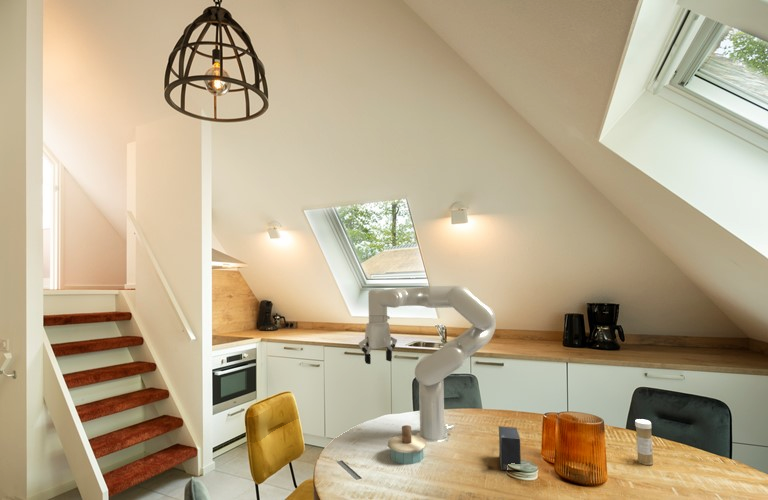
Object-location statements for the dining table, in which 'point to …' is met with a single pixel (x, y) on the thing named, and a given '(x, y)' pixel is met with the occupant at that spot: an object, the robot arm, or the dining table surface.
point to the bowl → (406, 457)
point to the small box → (509, 446)
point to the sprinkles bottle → (644, 441)
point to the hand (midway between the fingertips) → (378, 362)
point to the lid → (406, 442)
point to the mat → (349, 470)
